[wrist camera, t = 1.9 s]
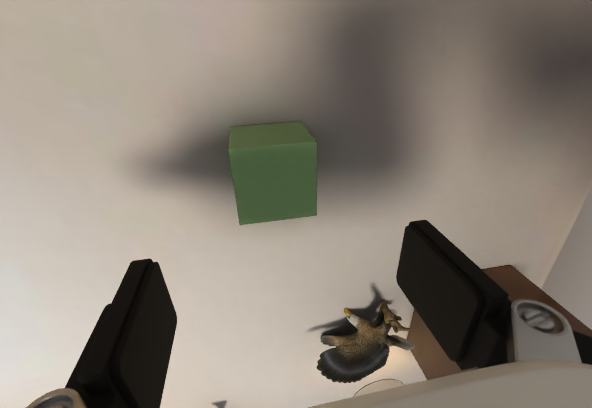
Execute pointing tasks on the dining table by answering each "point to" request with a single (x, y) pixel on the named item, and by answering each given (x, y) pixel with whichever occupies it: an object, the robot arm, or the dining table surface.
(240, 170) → the green toy block
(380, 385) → the mug
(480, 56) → the dining table surface
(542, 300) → the walnut stand
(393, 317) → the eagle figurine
